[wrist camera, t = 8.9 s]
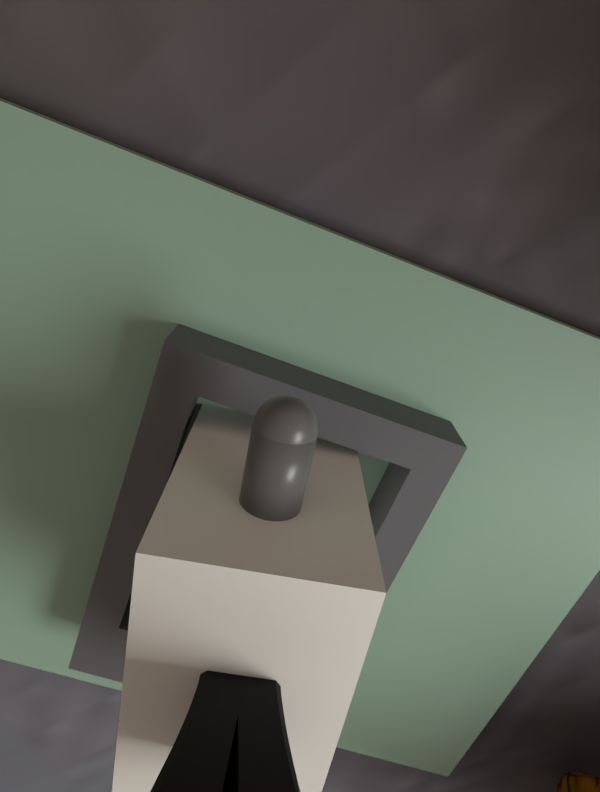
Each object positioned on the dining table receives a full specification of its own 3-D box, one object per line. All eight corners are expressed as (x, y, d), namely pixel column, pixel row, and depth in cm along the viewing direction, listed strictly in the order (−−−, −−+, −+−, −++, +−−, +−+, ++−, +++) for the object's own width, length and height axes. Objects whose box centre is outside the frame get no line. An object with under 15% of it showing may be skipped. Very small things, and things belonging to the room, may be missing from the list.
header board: (702, 378, 15) (778, 415, 12) (441, 749, 20) (459, 823, 18) (-42, 81, 12) (-124, 56, 10) (-105, 602, 18) (-167, 665, 15)
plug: (373, 352, 13) (424, 475, 8) (301, 628, 17) (301, 854, 11) (214, 321, 13) (148, 426, 7) (174, 609, 16) (108, 829, 11)
